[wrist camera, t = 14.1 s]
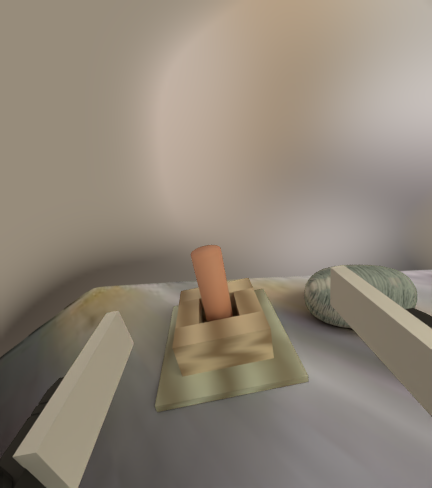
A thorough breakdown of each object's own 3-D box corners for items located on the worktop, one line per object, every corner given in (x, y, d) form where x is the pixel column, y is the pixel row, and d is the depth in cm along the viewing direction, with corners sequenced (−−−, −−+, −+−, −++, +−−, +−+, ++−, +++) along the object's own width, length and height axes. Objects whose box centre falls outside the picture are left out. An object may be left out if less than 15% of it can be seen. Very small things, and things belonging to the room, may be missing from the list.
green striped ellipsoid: (395, 275, 33) (399, 238, 27) (428, 337, 27) (442, 308, 21) (307, 289, 39) (293, 261, 33) (317, 341, 33) (302, 320, 27)
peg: (233, 320, 34) (219, 242, 29) (238, 339, 30) (222, 254, 25) (209, 325, 34) (191, 248, 29) (211, 345, 30) (190, 260, 25)
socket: (263, 292, 41) (260, 266, 39) (308, 381, 24) (307, 343, 22) (174, 310, 41) (166, 285, 38) (157, 412, 24) (141, 377, 22)
